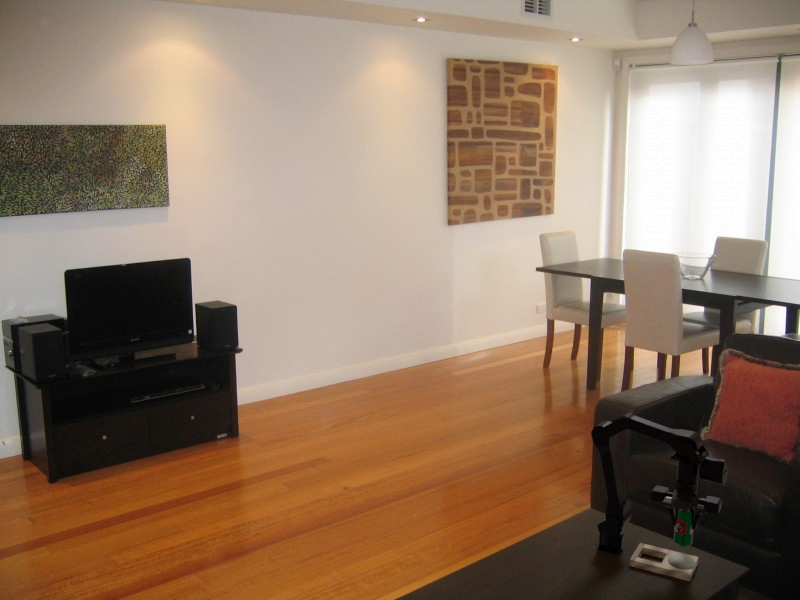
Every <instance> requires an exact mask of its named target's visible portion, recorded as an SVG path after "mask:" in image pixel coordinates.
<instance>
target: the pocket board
mask: <svg viewBox="0 0 800 600" xmlns="http://www.w3.org/2000/svg"><path fill="white" fill-rule="evenodd" d="M643 554H644V555H647V556H651V557H656V558H660V559H662V562H658V561H654V560H649V559H645V558H641V557H642V556H643ZM698 564H699V556H698V555H697V556H696V555H693V554H692V555H691V554H688V553H685V552H681V551H676V550H670V549H668V548H664V547H660V546H655V545H651V544H646V543H643V542H639V544H638V546H637V547H636V548H635V551H634V552H633V554H632V555H631V557H630V559H629V567H633V568H636V569H640V570H644V571H648V572H652V573H656V574H661V575H664V576H667V577H672V578H675V579H677V580H678V579H679V580H683V581H687V582H690V581H691V580H692V577H693V575H694V573H695V570H696V568H697V566H698Z"/></svg>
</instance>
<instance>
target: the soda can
mask: <svg viewBox="0 0 800 600" xmlns="http://www.w3.org/2000/svg"><path fill="white" fill-rule="evenodd" d="M695 511H696V509H695V507H693V508H692V507H690V510H689V511H684V510H681V509H676V514H675V526H674V531H673V533H674V534H673V541H674V543H675V544H676V545H678V546H680V547H684V548H685V547H686V548H687V547H688V548H689V547H690V546H691V545H692V544H693V541H694V540H693V538H694V530H693V523H694V518H695Z"/></svg>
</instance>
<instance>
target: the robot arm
mask: <svg viewBox="0 0 800 600" xmlns="http://www.w3.org/2000/svg"><path fill="white" fill-rule="evenodd" d="M625 430H628V431H631V432H634V433H636V434H639V435H641V436H644V437H647V438H650V439H652V440H656V441H659V442H661V443H664V444H665V445H667V446H668V447H670V449H671V450H673V451H674V452H675V453H673V454H671V456H670V460H674V461H677V468H676V469H677V470H676V480H675V487H674V489H673V492H670V489H669V487H667V486H662V485H657V484H656V485H655V486H654V487H653V488H652V490H651V492H650V499H649V500H650V501H652V502H658V503H661V505H662V506H664V507H665V508H666V509H667V511H668V513H669V516H670V519H671V524H672V525H673V526H674V527H675V514H676V509H681V510H684V511H689V510H690V507H692V508H693V507H694V508H696V509H695V511H694V523H693V531H695V529H696V527H697V525H698V522H699V520H700V519H701V517H702V515H706V514H708V513H710V514H715V515H718V514H719V513H720V511H721V509H722V505H723V500H722V499H721V497H716V496H712V495H707V496H706V498H700V496H699V494H698V484H699V483H698V482H699V478H700V479H701V480H702V481H705V482H710V483H714V484H719V485H724V486H725V485H726V482H727V481H728V480H727V479H728V474H729V469H728V464H727V460H726V459H723V458H714V457H710V453H709V450H708V449H707V448H706V447H705V445H704V443H703V439H702V437H701V435H700V433H698V432H697V431H694V430H687V429H683V428H682V429H681V428H678V429H676V428H670V427H667V426H665V425H662V424H659V423H657V422H653V421H651V420H648V419H645V418H644V417H640V416H637V415H635V414H634V413H631V412H626V413H624V414H623V415H622V416H620V417H617V418H615V419H613V420H611V421H610V420H604V421H602V422H599V424H597V425H596V426H594V427H593V428H592V430H591V432H590V435H591V439H592V443H593V444H594V447H595V448H596V450H597V451H598V453H599V456H600V462H601V469H602V474H603V479H604V487H605V492H606V498H607V499H606V504H605V505H606V506H605V509H604V510H605V511H604V516H605V517H604V518H603V519H602V520H601V521H600V522H599V523H598V524H597V525H596V526H597V530H598V532H599V534H598V536H599V537H598V545H597V547H596V549H597V550H599V551H604V552H608V553H611V554H616V555H619V553H620V552H621V551H622V550H623V548H624V547H625V546H624V545H625V534H624V531H623V527H624V526H625V525H626V524H628V522H629V521H631V519H632V515H634V511H633V509H632V501H631V500H626V498H625V497H624V495H623V489H622V483H621V476H620V470H619V466H618V458H617V452H616V449H617V444H618V434H620V433H622V432H623V431H625Z"/></svg>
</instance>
